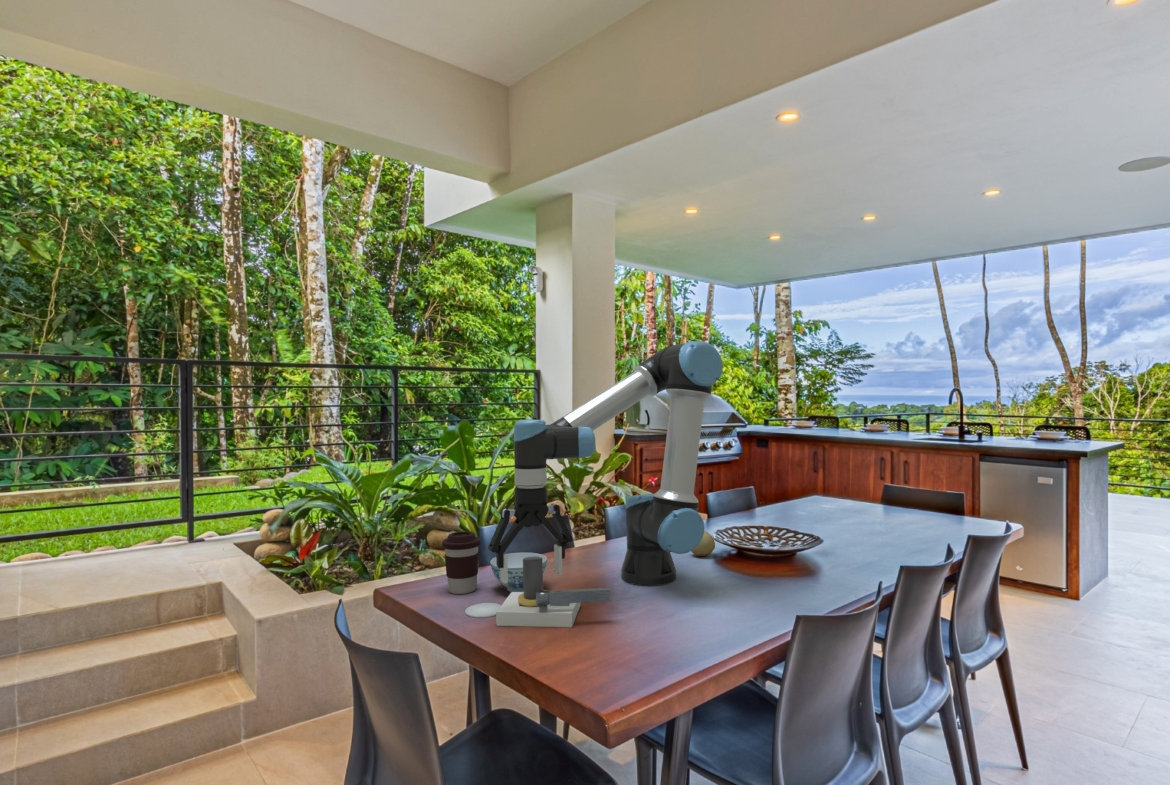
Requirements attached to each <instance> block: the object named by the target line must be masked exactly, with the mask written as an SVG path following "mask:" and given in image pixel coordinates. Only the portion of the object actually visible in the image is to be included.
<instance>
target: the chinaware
mask: <svg viewBox="0 0 1170 785" xmlns="http://www.w3.org/2000/svg"><path fill="white" fill-rule="evenodd" d="M533 556H535V557H541V558H542V561H543V574H544V572H545V570H546V567H547V562H548V558H547V556H546V555H544V554H540V553H535V552H511V553H507V558H508V583H503V582H502V581H501V573H500V568H498V567H497V560H496V556H495V557H493V558H492V559H491V560H490V562H489V564H490V566H491V567H490V568H491V571H492V574H493V575H494V577H495V578H496V580H497V581H498V582H499V583H500V584H501V585H503V586H504V587H506V590H507V591H508V592H509V593H511V592H523V559H524V558H526V557H533Z"/></svg>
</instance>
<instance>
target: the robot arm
mask: <svg viewBox="0 0 1170 785" xmlns="http://www.w3.org/2000/svg"><path fill="white" fill-rule="evenodd" d="M723 369H724V368H723V359H722V357H721V353H719V351H718V350H717V349H716V347H715V346H714V345H712V344H711V343H709V342H707V341H702V340H700V341H699V340H698V341H694V340H691V341H687V342H683V343H677V344H672V345H667V346H665V347H663V348H662V349H660V350H658V351H657V352H656V353H654V354H652V355H651V356H649V357H648V358H647V359H645V360H644V361H642V362H640V363H639V364H637V365H635V367H634V368H633V372H631V373H630V374H628V375H627V376H625V377H624V378H622V379H621V380H619V381H617V382H616V383H614V384H613V385H611V386H609V387H607V388H605V389H604V390H603V391H601V392H599V393H598V394H597V395H595V396H594V397H591V398H590V399H589V400H587V401H585V402H584V403H582V404H580V405H579V406H577V407H576V408H574V409H572V410H570V412H567V414H565V415H564V416H562V417H560V418H558V419H557V420H555V421H553V422H552V423H550V424H547V423H546V421H545V419H522V420H521V419H519V420H517V421H516V422H515V423H514V426H513V427H514V430H513V453H514V455H513V456H514V457H513V458H514V472H513V473H514V475H513V476H514V485H515V487H514V508H513V509H507V508H505V507H504V508H502V509H501V512H500V519H499V521H498V524H497V526H496V529H495V531H494V532H493V535H492V538H491V540H490V542H489V543H488V547H487V549H488V550H489V551H490V552H491V553H495V554H496V555H495V557H496V560H497V567H498V568H500V573H501V581H502V582H503V583H508V558H507V554H508V553H507V552H506V551H507V549H508V548H509V547H510V545H511V543H512V542H513V541H514V539H515V538H516V537H517V535H518V534H519V532H520V531H522V529H523V528H524V527H525V528H530V527H539V526H540V525H541V526H542V527H543V528H544V529H545V530H546V532H547V533H548V534H549V535H550V536H551V538H552V539H553V540H554V541H555V542H556V543H557V544H553V554H554V555H553V556H554V558H553V560H554V562H553V564H554V565H553V566H554V567H553V568H554V570H553V571H554V573H556V574H557V575H563V560H565V558H566V547H567V545H568V543H572V542H573V537H572V535H571V533H570V531H569V528H568V526H567V524H566V523H565V520H564V519H563V517H562V514H561V509H560V508H561V507H560V505H559V504H557V503H551V504H550V505H548V504H547V502H548V491H547V490H548V488H547V486H546V485H547V483H548V478H547V476H548V475H547V464H548V463H547V461H548V460H560V459H561V460H565V459H568V460H569V459H579V460H580V459H584V458H590V457H592V456H593V454H594V453H595V449H596V436H595V432H594V431H595V430H596V429H598V428H600V427H601V426H603V425H604V424H605V423H608V422H610V420H612V419H614V418H615V417H617V416H618V415H620V414H621V413H623V412H625V411H626V410H628V409H629V408H630V407H632V406H634V405H635V404H637V403H638V402H640V401H641V400H643V399H645V398H646V397H648V396H651V397H654V396H656V395H657V394H659V393H661V392H663V391H666V393H667V394H668V396H670V404H669V405H670V406H669V413H668V420H667V422H668V423H667V430H666V438H665V445H664V447H665V449H664V453H663V454H664V455H663V465H662V472H661V473H662V474H661V478H660V488H659V489H658V491H656V492H655V493H646V494H636V495H629V496H628V497H627V498H626V501H625V508H624V509H625V525H626V526H625V528H626V529H625V530H626V552H625V555H624V558H623V559H624V560H623V563H622V566H621V573H620V574H621V575H620V576H621V579H622V581H624V582H626V583H628V584H632V585H636V586H637V585H638V586H661V585H662V586H663V585H666V584H670V583H673V582H674V581H676V580H677V568H676V565H675V563H674V560H673V557H672V554H671V553H673V554H678V555H684V554H687V553H691V551H692V550H693V549H694V548H695V547H697V546H698V544H699V543H700V542H701V540H702V538H703V535H704V531H705V522H704V519H703V518H702V516H701V514H700V513H699V512H698V510H699V503H700V502H699V500H698V498H697V496H695V484H696V478H697V476H696V475H697V467H698V459H699V450H700V443H701V442H700V441H701V435H702V434H701V433H702V426H703V425H702V423H703V414H704V406H705V402H706V400H707V399H709V398H710V397H711V396H712V389H713V385H715V384H716V383H717V381H719V380H720V379H721V377H722V374H723ZM548 513H549V514H551V516H552V517H553V520H554V522H555V524H556V526H557V528H558V530H559V532H560V534H559V532H558V531H557V530H556V529H555V527H554V526H553V525H552V524H551V522H550V521H549V520H548V519H547V514H548ZM513 516H514V517H515V519H514V521H513V522H512V525H511V526H510V528H509V529H508V531H507V532H506V530H507V528H508V525H509V522H510V520H511V519H512V517H513ZM505 532H506V534H504V533H505Z"/></svg>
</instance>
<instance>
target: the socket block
mask: <svg viewBox="0 0 1170 785" xmlns="http://www.w3.org/2000/svg"><path fill="white" fill-rule="evenodd" d="M521 594H523V592H510V593H509V595H508V596H507V597H506V599H505V600H504V602H502V604H500V605H501V607H500V608H499V609H498V610H497V612H496V615H495V616H496V617H495V618H496V626H497V627H499V626H501V627H502V626H503V627H504V626H505V627H540V628H543V627H545V628H546V627H547V628H572V627H573V626H574V623H575V620H576V617H577V615H578V613H579V610H580V607H581V604H582V603H564V604H549V605H545V606H524V605H521V604H519V603H518V596H519V595H521Z"/></svg>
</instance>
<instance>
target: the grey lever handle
mask: <svg viewBox="0 0 1170 785" xmlns="http://www.w3.org/2000/svg"><path fill="white" fill-rule="evenodd" d="M611 598H612V597H611V588H610V587H596V588H595V587H594V588H576V589H558V590H557V589H554V590H549V589H543V590H538V591H536V605H539V606H545V605H549V604H564V603H580V604H582V603H598V602H599V603H601V602H605V603H606V602H611Z"/></svg>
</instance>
